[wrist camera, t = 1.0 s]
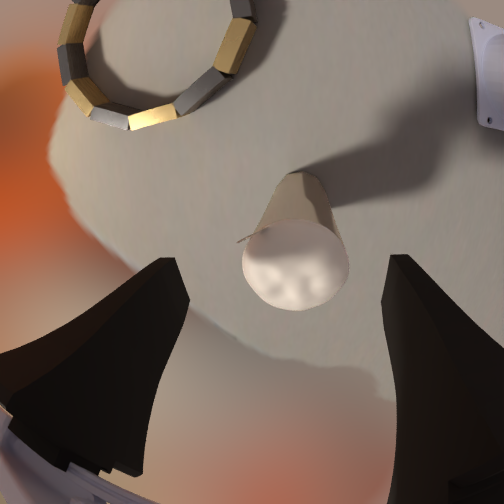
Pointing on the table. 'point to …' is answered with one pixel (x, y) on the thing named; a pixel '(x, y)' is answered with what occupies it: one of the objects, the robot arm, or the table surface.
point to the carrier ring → (132, 118)
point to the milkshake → (296, 247)
